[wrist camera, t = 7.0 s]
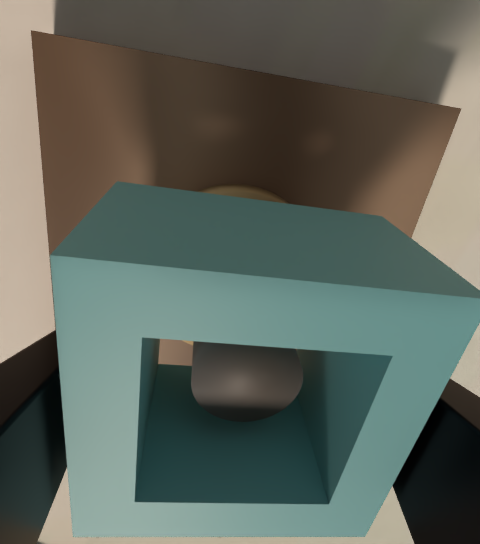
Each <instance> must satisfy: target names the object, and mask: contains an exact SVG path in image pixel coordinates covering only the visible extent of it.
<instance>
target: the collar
mask: <svg viewBox="0 0 480 544" xmlns="http://www.w3.org/2000/svg"><path fill="white" fill-rule="evenodd" d="M50 262H51V274H52V287H53V299H54V311H55V323H56V335H57V348H58V360H59V372H60V384H61V397H62V409H63V421H64V433H65V445H66V458H67V470H68V482H69V494H70V507H71V519H72V531H73V537H365V536H366V534H367V532H368V530H369V528H370V526H371V525H372V523H373V521H374V519H375V517H376V515H377V513H378V511H379V510H380V508H381V506H382V504H383V502H384V500H385V498H386V497H387V495H388V493H389V491H390V489H391V487H392V485H393V483H394V482H395V480H396V478H397V476H398V474H399V472H400V470H401V469H402V467H403V465H404V463H405V461H406V459H407V457H408V455H409V454H410V452H411V450H412V448H413V446H414V444H415V442H416V440H417V439H418V437H419V435H420V433H421V431H422V429H423V427H424V426H425V424H426V422H427V420H428V418H429V416H430V414H431V412H432V411H433V409H434V407H435V405H436V403H437V401H438V399H439V398H440V396H441V394H442V392H443V390H444V388H445V386H446V384H447V383H448V381H449V379H450V377H451V375H452V373H453V371H454V369H455V368H456V366H457V364H458V362H459V360H460V358H461V356H462V355H463V353H464V351H465V349H466V347H467V345H468V343H469V341H470V340H471V338H472V336H473V334H474V332H475V330H476V328H477V327H478V325H479V323H480V290H478V289H477V288H476V287H474V286H473V285H472V284H470V283H469V282H468V281H466V280H465V279H464V278H462V277H461V276H460V275H459V274H457V273H456V272H455V271H453V270H452V269H451V268H449V267H448V266H447V265H445V264H444V263H443V262H441V261H440V260H439V259H437V258H436V257H435V256H434V255H432V254H431V253H430V252H428V251H427V250H426V249H424V248H423V247H422V246H420V245H419V244H418V243H416V242H415V241H414V240H413V239H411V238H410V237H409V236H407V235H406V234H405V233H403V232H402V231H401V230H399V229H398V228H397V227H395V226H394V225H393V224H391V223H390V222H389V221H388V220H386V219H385V218H384V217H382V216H378V215H370V214H363V213H355V212H347V211H340V210H332V209H324V208H317V207H309V206H302V205H294V204H286V203H279V202H271V201H264V200H256V199H248V198H241V197H233V196H225V195H218V194H210V193H203V192H195V191H187V190H180V189H172V188H165V187H157V186H149V185H142V184H134V183H126V182H119V181H117V182H116V183H115V184H114V185H113V186H112V187H111V188H110V189H109V191H108V192H107V193H106V194H105V195H104V196H103V197H102V198H101V199H100V200H99V202H98V203H97V204H96V205H95V206H94V207H93V208H92V209H91V210H90V211H89V213H88V214H87V215H86V216H85V217H84V218H83V219H82V220H81V221H80V223H79V224H78V225H77V226H76V227H75V228H74V229H73V230H72V231H71V232H70V234H69V235H68V236H67V237H66V238H65V239H64V240H63V241H62V242H61V243H60V245H59V246H58V247H57V248H56V249H55V250H54V251H53V252H52V253H51V254H50ZM160 339H172V340H185V341H199V342H212V343H226V344H239V345H253V346H266V347H280V348H293V349H297V354H298V357H299V360H300V363H301V366H302V369H303V382H302V386H301V389H300V391H299V393H298V395H297V396H296V398H295V399H294V400H293V401H292V402H291V403H290V404H289V405H288V406H287V407H286V408H285V409H283V410H282V411H280V412H279V413H277V414H275V415H273V416H270V417H268V418H265V419H261V420H257V421H250V422H235V421H228V420H224V419H221V418H218V417H216V416H214V415H212V414H210V413H208V412H207V411H206V410H204V409H203V408H202V407H201V406H200V405H199V403H198V402H197V401H196V399H195V397H194V395H193V392H192V388H191V375H192V366H186V365H170V364H158V361H159V347H160Z"/></svg>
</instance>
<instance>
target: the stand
mask: <svg viewBox="0 0 480 544" xmlns="http://www.w3.org/2000/svg"><path fill="white" fill-rule="evenodd" d="M31 36H32V49H33V61H34V73H35V85H36V97H37V109H38V122H39V134H40V146H41V158H42V170H43V183H44V195H45V207H46V219H47V231H48V243H49V256H50V254H51V253H52V252H53V251H54V250H55V249H56V248H57V247H58V246H59V245H60V243H61V242H62V241H63V240H64V239H65V238H66V237H67V236H68V235H69V234H70V232H71V231H72V230H73V229H74V228H75V227H76V226H77V225H78V224H79V223H80V221H81V220H82V219H83V218H84V217H85V216H86V215H87V214H88V213H89V211H90V210H91V209H92V208H93V207H94V206H95V205H96V204H97V203H98V202H99V200H100V199H101V198H102V197H103V196H104V195H105V194H106V193H107V192H108V191H109V189H110V188H111V187H112V186H113V185H114V184H115V183H116V182H117V181H119V182H126V183H134V184H142V185H149V186H157V187H165V188H172V189H180V190H187V191H195V192H203V193H210V194H218V195H225V196H233V197H241V198H248V199H256V200H264V201H271V202H279V203H286V204H294V205H302V206H309V207H317V208H324V209H332V210H340V211H347V212H355V213H363V214H370V215H378V216H382V217H384V218H385V219H386V220H388V221H389V222H390V223H391V224H393V225H394V226H395V227H397V228H398V229H399V230H401V231H402V232H403V233H405V234H406V235H407V236H409V237H410V238H411V237H412V234H413V232H414V229H415V227H416V224H417V221H418V219H419V216H420V214H421V211H422V209H423V206H424V203H425V201H426V198H427V196H428V193H429V191H430V188H431V185H432V183H433V180H434V178H435V175H436V173H437V170H438V167H439V165H440V162H441V160H442V157H443V155H444V152H445V149H446V147H447V144H448V142H449V139H450V137H451V134H452V131H453V129H454V126H455V124H456V121H457V119H458V116H459V113H460V111H461V109H460V108H454V107H449V106H443V105H438V104H432V103H427V102H421V101H416V100H410V99H405V98H399V97H394V96H389V95H383V94H378V93H372V92H367V91H361V90H356V89H350V88H345V87H339V86H334V85H328V84H323V83H317V82H312V81H306V80H301V79H295V78H290V77H284V76H279V75H273V74H268V73H262V72H257V71H251V70H246V69H240V68H235V67H229V66H224V65H218V64H213V63H207V62H202V61H196V60H191V59H185V58H180V57H174V56H169V55H163V54H158V53H152V52H147V51H141V50H136V49H131V48H125V47H120V46H114V45H109V44H103V43H98V42H92V41H87V40H81V39H76V38H70V37H65V36H59V35H54V34H48V33H43V32H37V31H32V30H31ZM50 268H51V262H50ZM51 280H52V274H51ZM52 292H53V287H52ZM53 304H54V299H53ZM54 316H55V311H54ZM55 329H56V323H55ZM158 364H170V365H186V366H192V375H191V388H192V392H193V395H194V397H195V399H196V401H197V402H198V403H199V405H200V406H201V407H202V408H203V409H204V410H206V411H207V412H208V413H210V414H212V415H214V416H216V417H218V418H221V419H224V420H228V421H235V422H250V421H257V420H261V419H265V418H268V417H270V416H273V415H275V414H277V413H279V412H280V411H282V410H283V409H285V408H286V407H287V406H288V405H289V404H290V403H291V402H292V401H293V400H294V399H295V398H296V396H297V395H298V393H299V391H300V389H301V386H302V382H303V369H302V366H301V363H300V360H299V357H298V354H297V349H293V348H280V347H266V346H253V345H239V344H226V343H212V342H199V341H185V340H172V339H160V347H159V361H158Z"/></svg>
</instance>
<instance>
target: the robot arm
mask: <svg viewBox="0 0 480 544" xmlns="http://www.w3.org/2000/svg"><path fill="white" fill-rule="evenodd" d="M66 468H67V458H66V445H65V433H64V421H63V409H62V397H61V384H60V372H59V360H58V348H57V335H56V330H54V331H53V332H51V333H49V334H48V335H46V336H45V337H43V338H41V339H40V340H38V341H36V342H35V343H33V344H31V345H30V346H28V347H27V348H25V349H23V350H22V351H20V352H18V353H17V354H15V355H13V356H12V357H10V358H9V359H7V360H5V361H4V362H2V363H0V544H36V543H37V541H38V538H39V536H40V533H41V531H42V528H43V526H44V523H45V521H46V518H47V516H48V513H49V511H50V508H51V506H52V503H53V501H54V498H55V496H56V493H57V491H58V488H59V486H60V483H61V481H62V478H63V476H64V473H65V471H66ZM393 488H394V491H395V493H396V496H397V499H398V501H399V504H400V507H401V509H402V512H403V515H404V517H405V520H406V522H407V525H408V528H409V530H410V533H411V536H412V538H413V541H414V544H480V397H478V396H477V395H475V394H474V393H472V392H470V391H469V390H467V389H466V388H464V387H463V386H461V385H459V384H458V383H456V382H455V381H453V380H452V379H449V381H448V383H447V384H446V386H445V388H444V390H443V392H442V394H441V396H440V398H439V399H438V401H437V403H436V405H435V407H434V409H433V411H432V412H431V414H430V416H429V418H428V420H427V422H426V424H425V426H424V427H423V429H422V431H421V433H420V435H419V437H418V439H417V440H416V442H415V444H414V446H413V448H412V450H411V452H410V454H409V455H408V457H407V459H406V461H405V463H404V465H403V467H402V469H401V470H400V472H399V474H398V476H397V478H396V480H395V482H394V483H393Z"/></svg>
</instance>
